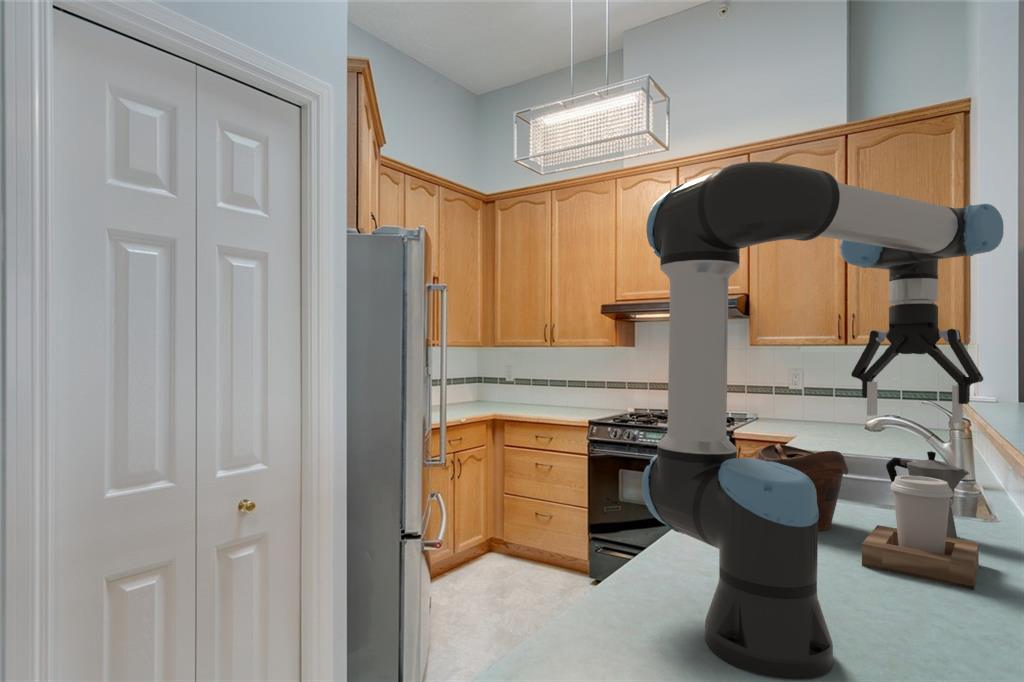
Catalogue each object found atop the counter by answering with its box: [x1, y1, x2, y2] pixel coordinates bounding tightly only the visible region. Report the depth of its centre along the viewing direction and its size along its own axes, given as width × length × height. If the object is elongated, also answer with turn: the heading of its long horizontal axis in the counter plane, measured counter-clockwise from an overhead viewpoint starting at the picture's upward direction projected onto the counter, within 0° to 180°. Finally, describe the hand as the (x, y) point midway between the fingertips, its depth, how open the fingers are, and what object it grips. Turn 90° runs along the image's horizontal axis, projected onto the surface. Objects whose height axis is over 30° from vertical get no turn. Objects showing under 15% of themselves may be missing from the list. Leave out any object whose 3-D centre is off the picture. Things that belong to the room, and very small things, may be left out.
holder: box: [861, 524, 979, 591], centre depth 106 cm, size 16×16×4 cm
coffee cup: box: [889, 474, 955, 555], centre depth 106 cm, size 10×10×15 cm
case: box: [754, 442, 850, 532], centre depth 133 cm, size 18×20×18 cm
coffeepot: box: [885, 450, 970, 539], centre depth 126 cm, size 15×9×18 cm, turn 35°
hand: (912, 419), depth 107 cm, fingers open, 13 cm apart
